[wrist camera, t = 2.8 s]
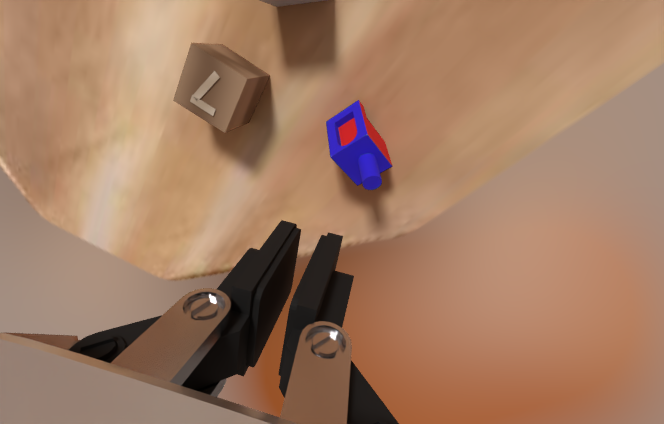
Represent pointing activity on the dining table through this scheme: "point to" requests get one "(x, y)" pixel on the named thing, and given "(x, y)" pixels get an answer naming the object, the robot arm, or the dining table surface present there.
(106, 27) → the dining table surface
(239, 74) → the numeral seven cube
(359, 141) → the toy building block
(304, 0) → the numeral one cube
